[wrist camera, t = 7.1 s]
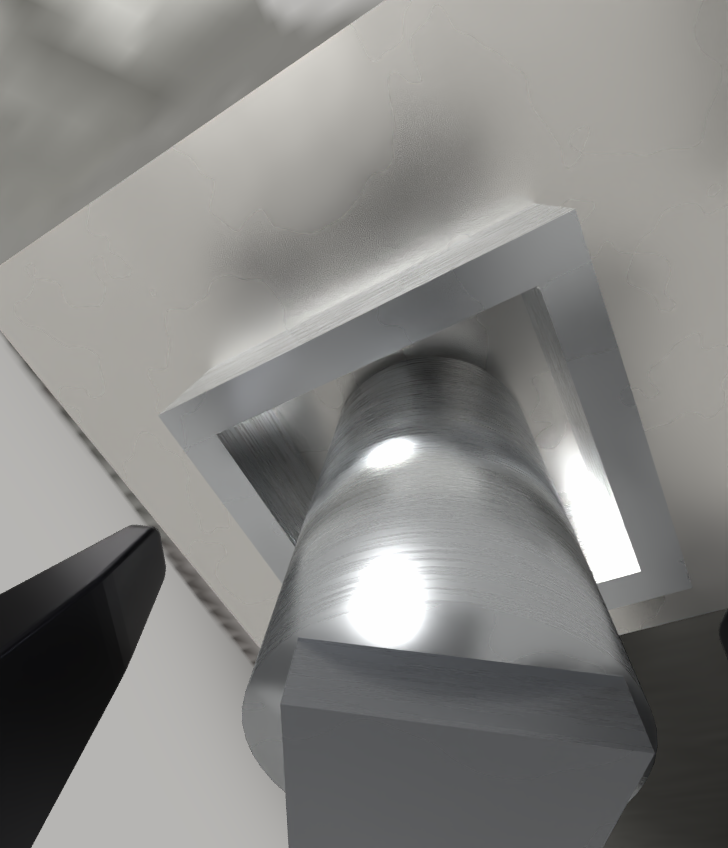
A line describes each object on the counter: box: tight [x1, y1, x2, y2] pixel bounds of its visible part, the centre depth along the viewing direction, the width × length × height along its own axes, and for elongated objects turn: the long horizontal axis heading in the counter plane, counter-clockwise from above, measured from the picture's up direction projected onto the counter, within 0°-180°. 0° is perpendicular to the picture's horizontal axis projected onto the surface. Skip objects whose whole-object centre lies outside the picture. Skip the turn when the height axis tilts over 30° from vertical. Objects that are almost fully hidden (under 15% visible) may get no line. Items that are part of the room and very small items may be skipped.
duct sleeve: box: [242, 357, 657, 848], centre depth 8 cm, size 5×5×8 cm
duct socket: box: [0, 0, 728, 648], centre depth 11 cm, size 16×16×3 cm
